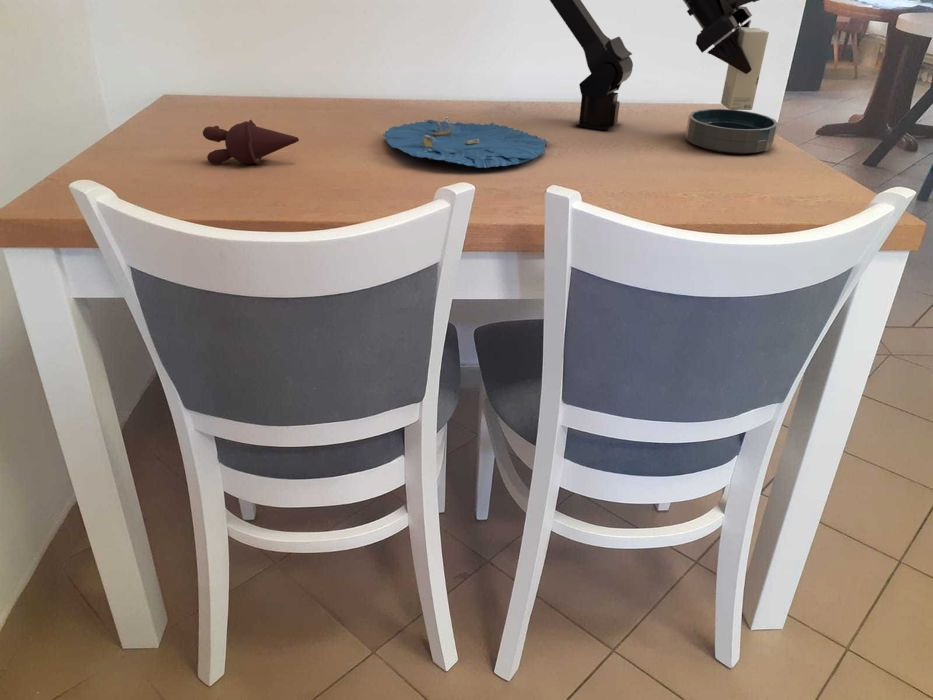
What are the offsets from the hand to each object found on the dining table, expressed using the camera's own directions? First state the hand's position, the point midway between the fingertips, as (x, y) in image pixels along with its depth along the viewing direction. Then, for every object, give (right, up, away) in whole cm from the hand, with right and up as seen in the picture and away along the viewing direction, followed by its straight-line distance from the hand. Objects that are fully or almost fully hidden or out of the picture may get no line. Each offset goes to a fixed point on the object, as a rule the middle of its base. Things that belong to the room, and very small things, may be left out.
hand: (752, 69), depth 127 cm
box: (-1, -5, +4) cm, 7 cm away
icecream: (-84, -18, -8) cm, 86 cm away
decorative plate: (-50, -13, +2) cm, 52 cm away
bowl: (-1, -11, +8) cm, 13 cm away
